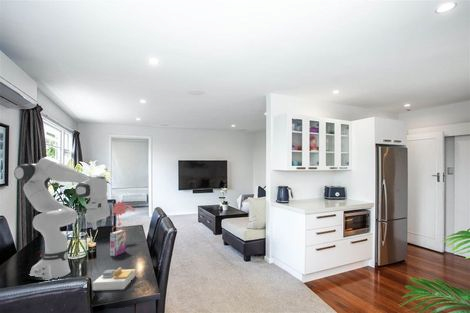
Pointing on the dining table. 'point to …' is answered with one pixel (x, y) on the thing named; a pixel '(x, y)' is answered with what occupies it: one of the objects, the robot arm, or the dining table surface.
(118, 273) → the shutter
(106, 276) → the plug
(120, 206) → the pink flowers
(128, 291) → the dining table surface
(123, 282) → the socket plate
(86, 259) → the dining table surface
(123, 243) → the candy bar box
